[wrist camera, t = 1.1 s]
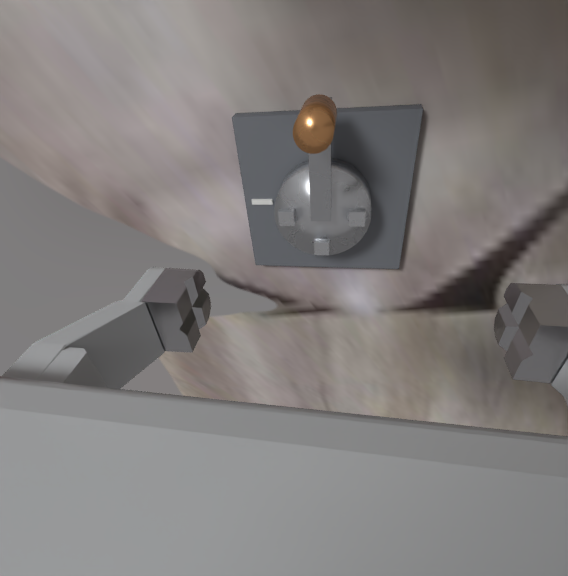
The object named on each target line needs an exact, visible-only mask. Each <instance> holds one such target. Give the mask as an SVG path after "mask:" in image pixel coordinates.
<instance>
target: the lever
mask: <svg viewBox="0 0 568 576" xmlns="http://www.w3.org/2000/svg"><path fill="white" fill-rule="evenodd" d="M336 118H337V109H336V106H335V104H334V102H333V101H332V97H327V96H325V95H314V96H311V97H310V98H308V99H307V100H306V101H305V103H304V104H303V106H302V109H301V111H300V113H299V115H298V117H297V119H296V121H295V123H294V126H293V138H294V141H295V143H296V145H297V146H298V147H299V148H300V149H301V150H302V151H304V152H306V153H308V157H309V160H306V161H304V162H302V163H300V164H298V165H297V166H295V167H294V168H293V169H292V170H291V171H290V172H289V173H288V174H287V176H286V177H285V179H284V181H283V183H282V185H281V188H280V190H279V193H278V195H277V198H276V201H275V207H274V216H275V221H276V224H277V227H278V229H279V231H280V233H281V234H282V236H283V237H284V238H285V239H286V240H287V241H288V242H289V243H290V244H291V245H293V246H294V247H295V248H297V249H299V250H301V251H303V252H306V253H309V254H313V255H322V256H324V255H334V254H338V253H341V252H344V251H346V250H348V249H350V248H351V247H353V246H354V245H356V244H357V243H358V242H359V241H360V240H361V239H362V238H363V236H364V235H365V233H366V232H367V229H368V227H369V224H370V221H371V196H370V190H369V187H368V184H367V182H366V180H365V178H364V177H363V175H362V174H361V173H360V172H359V171H358V170H357V169H356V168H355V167H354V166H352V165H351V164H349V163H348V162H346V161H343V160H341V159H337V158H333V157H332V140H333V136H334V130H335V124H336Z"/></svg>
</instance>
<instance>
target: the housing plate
mask: <svg viewBox="0 0 568 576" xmlns="http://www.w3.org/2000/svg"><path fill="white" fill-rule="evenodd" d="M300 111H301V110H296V111H275V112H255V113H236V114H235V115H234V116H233V117H232V121H233V128H234V134H235V140H236V146H237V152H238V159H239V165H240V171H241V177H242V183H243V189H244V196H245V202H246V208H247V214H248V220H249V226H250V233H251V239H252V245H253V251H254V257H255V264H256V265H273V266H309V267H345V268H381V269H399V264H400V258H401V251H402V245H403V238H404V231H405V225H406V218H407V212H408V205H409V198H410V192H411V185H412V178H413V172H414V165H415V159H416V152H417V145H418V139H419V132H420V126H421V119H422V112H423V107H422V106H421V104H419V105H399V106H378V107H357V108H337V118H336V124H335V130H334V136H333V140H332V157H333V158H337V159H341V160H343V161H346V162H348V163H349V164H351V165H352V166H354V167H355V168H356V169H357V170H358V171H359V172H360V173H361V174H362V175H363V177H364V178H365V180H366V182H367V184H368V187H369V190H370V196H371V221H370V224H369V227H368V229H367V232H366V233H365V235H364V236H363V238H362V239H361V240H360V241H359V242H358V243H357V244H356V245H354V246H353V247H351V248H350V249H348V250H346V251H344V252H341V253H338V254H334V255H324V256H322V255H313V254H309V253H306V252H303V251H301V250H299V249H297V248H295V247H294V246H293V245H291V244H290V243H289V242H288V241H287V240H286V239H285V238H284V237H283V236H282V234H281V233H280V231H279V229H278V227H277V224H276V221H275V216H274V207H275V201H276V198H277V195H278V193H279V190H280V188H281V185H282V183H283V181H284V179H285V177H286V176H287V174H288V173H289V172H290V171H291V170H292V169H293V168H294V167H295V166H297V165H298V164H300V163H302V162H304V161H306V160H309V157H308V153H306V152H304V151H302V150H301V149H300V148H299V147H298V146H297V145H296V143H295V141H294V138H293V126H294V123H295V121H296V119H297V117H298V115H299V113H300Z"/></svg>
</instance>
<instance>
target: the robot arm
mask: <svg viewBox="0 0 568 576" xmlns="http://www.w3.org/2000/svg"><path fill="white" fill-rule="evenodd" d="M205 282H206V281H205V278H204V274H203V272H202V271H200V270H193V269H178V268H159V267H152V268H149V269H148V270H147V271H146V272H145V274H144V275H143V276H142V277H141V278H140V280H139V281H138V282H137V283H136V285H135V286H134V287H133V289H132V290H131V291H130V292H129V293H128V295H127V296H126V297H125V298H124V299H123V301H116V302H114V303H112V304H110V305H108V306H106V307H104V308H102V309H100V310H98V311H96V312H94V313H92V314H90V315H88V316H86V317H84V318H82V319H80V320H78V321H76V322H74V323H72V324H70V325H68V326H66V327H64V328H62V329H60V330H58V331H56V332H54V333H52V334H50V335H49V336H46V337H44V338H42V339H40V340H38V341H37V342H34V343H33V344H32V345H31V346H30V348H29V349H28V350H26V351H25V352H24V353H23V355H22V356H21V357H20V358H19V359H18V360H17V361H16V362H15V363H14V364H13V365H12V366H11V367H10V368H9V369H8V370H7V371H6V372H5V373H4V374H3V375H2V376H0V576H568V436H559V435H549V434H540V433H530V432H521V431H511V430H502V429H493V428H483V427H474V426H464V425H455V424H446V423H436V422H427V421H417V420H408V419H399V418H389V417H380V416H370V415H361V414H351V413H342V412H332V411H323V410H313V409H304V408H295V407H285V406H276V405H266V404H257V403H247V402H238V401H228V400H219V399H209V398H200V397H190V396H180V395H171V394H162V393H152V392H142V391H133V390H124V389H120V388H121V387H123V386H124V385H125V384H126V383H127V382H129V381H130V380H131V379H133V378H134V377H135V376H136V375H137V374H139V373H140V372H141V371H142V370H144V369H145V368H146V367H147V366H148V365H150V364H151V363H152V362H153V361H155V360H156V359H157V358H158V357H160V356H161V355H162V354H163V353H164V351H175V352H193V350H194V348H195V346H196V344H197V342H198V340H199V338H200V336H201V335H200V331H199V329H200V328H202V327H203V326H205V325H206V323H207V321H208V319H209V316H210V309H211V302H210V297H209V294H208V293H207V292H206V291H205V290H204V289H203V286H204V284H205ZM504 298H505V300H506V302H507V304H505V305H504V306H502V307H501V308H500V309H498V312H497V315H496V317H495V324H494V332H495V337H496V340H497V342H498V345H499V346H501V347H502V348H503V349H505V350H506V351H507V352H506V354H505V357H504V360H505V362H506V364H507V367H508V369H509V372H510V374H511V376H512V379H515V380H525V381H534V382H543V383H552V384H551V385H552V386H553V387H554V388H555V389H556V390H557V391H558V392H560V393H561V394H562V395H563V396H564V397H565V398H566V399H567V400H568V284H556V285H549V284H520V283H511V284H510V285H509V286H508V287H507V289H506V292H505V294H504Z"/></svg>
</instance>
